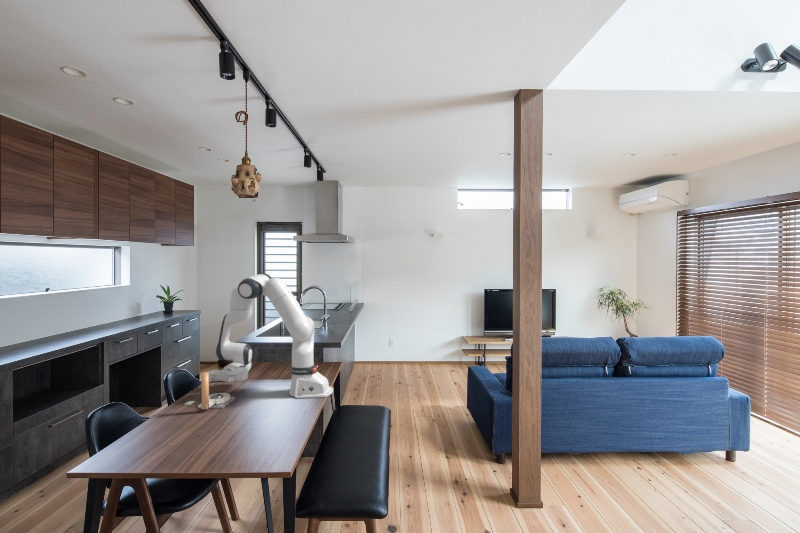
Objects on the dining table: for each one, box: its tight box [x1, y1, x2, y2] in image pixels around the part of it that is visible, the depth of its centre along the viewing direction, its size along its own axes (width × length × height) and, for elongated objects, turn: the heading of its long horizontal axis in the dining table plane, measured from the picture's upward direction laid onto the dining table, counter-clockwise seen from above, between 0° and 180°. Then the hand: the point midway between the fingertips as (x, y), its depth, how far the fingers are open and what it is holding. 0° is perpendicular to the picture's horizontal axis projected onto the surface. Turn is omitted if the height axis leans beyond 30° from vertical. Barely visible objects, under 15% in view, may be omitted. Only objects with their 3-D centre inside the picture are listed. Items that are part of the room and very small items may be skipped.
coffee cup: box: [216, 358, 233, 383], centre depth 224 cm, size 9×8×13 cm
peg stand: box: [200, 371, 231, 410], centre depth 184 cm, size 17×11×16 cm, turn 177°
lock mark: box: [183, 400, 196, 406], centre depth 187 cm, size 3×4×1 cm
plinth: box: [197, 393, 236, 409], centre depth 187 cm, size 12×12×4 cm
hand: (218, 380), depth 188 cm, fingers open, 8 cm apart
